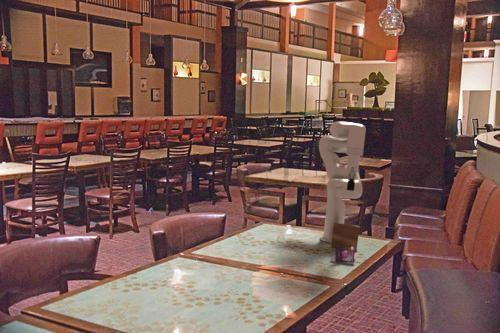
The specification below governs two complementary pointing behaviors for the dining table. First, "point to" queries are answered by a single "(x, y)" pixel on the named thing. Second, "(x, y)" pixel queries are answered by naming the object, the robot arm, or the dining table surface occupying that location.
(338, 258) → the pink radish toy
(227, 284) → the dining table surface
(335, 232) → the screen
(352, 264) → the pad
